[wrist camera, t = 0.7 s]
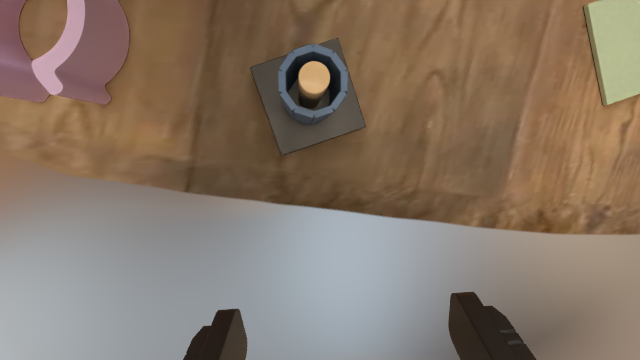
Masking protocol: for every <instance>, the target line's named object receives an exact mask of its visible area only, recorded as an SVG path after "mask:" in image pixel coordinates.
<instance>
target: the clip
mask: <svg viewBox="0 0 640 360" xmlns="http://www.w3.org/2000/svg"><path fill="white" fill-rule="evenodd" d="M25 2H26V0H0V96H2V97H9V98H15V99H22V100H28V101H35V102H44V101H45V100H46V99H47V97H48V96H49V95H50V94H52V95H57V96H62V97H67V98H72V99H77V100H83V101H88V102H93V103H98V104H103V105H105V104H108V103H109V102H110V101H111V96H110V94H109V93H108V92H107V91H106V89H105V84H106V83H107V82H109V81H110V80H111V79H112V78H113V77H114V76H115V75H116V74H117V73H118V72H119V70H120V69H121V67H122V66H123V64H124V62H125V59H126V56H127V53H128V49H129V27H128V23H127V19H126V16H125V13H124V11H123V9H122V7H121V5H120V4H119V2H118V0H67V5H68V15H67V22H66V26H65V29H64V32H63V34H62V36H61V38H60V39H59V41H58V42H57V44H56V45H55V46H54V47H53V48H52V49H51V50H50V51H48V52H47V53H46V54H44V55H43V56H41V57H39V58H37V59H35V60H33V61H32V60H31V58H30V57H29V56H28V54H27V53H26V51H25V49H24V47H23V45H22V42H21V39H20V35H19V16H20V12H21V10H22V7H23V5H24V3H25Z"/></svg>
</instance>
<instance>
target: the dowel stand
mask: <svg viewBox="0 0 640 360" xmlns="http://www.w3.org/2000/svg"><path fill="white" fill-rule="evenodd" d="M318 45H319V46H322V47H325V48H328V49H331V50H333V53H334V52H336V54H337V55H338V57H339V58H340V59H341V61H342V62H343V64H344V65H345V67H346V68H347V65H346V62H345V58H344V55H343V52H342V49H341V46H340V43H339V39H338V38H336V39H333V40H330V41H327V42H324V43H321V44H318ZM287 56H288V55H285V56H282V57H279V58H276V59H273V60H270V61H267V62H264V63H261V64H258V65H255V66H252V67H250V69H251V72H252V75H253V77H254V80H255V83H256V86H257V89H258V91H259V94H260V97H261V100H262V103H263V105H264V108H265V111H266V114H267V117H268V119H269V122H270V125H271V128H272V131H273V133H274V136H275V139H276V142H277V145H278V147H279V150H280V153H281V155H282V156H283V155H285V154H288V153H291V152H294V151H297V150H300V149H303V148H306V147H309V146H312V145H315V144H317V143H320V142H323V141H326V140H329V139H332V138H335V137H338V136H341V135H344V134H347V133H349V132H352V131H355V130H358V129H361V128H364V127H366V126H365V122H364V119H363V116H362V113H361V110H360V106H359V103H358V100H357V97H356V94H355V90H354V87H353V84H352V81H351V78H350V74H349V71H348V68H347V69H346V71H348V92H347V93H346V94H347V95H346V97H345V98H344V99H343V101H342V102H341V104H340V105H339V107H338V108H337V109H336V111H334V112H333V113H332V114H331V115H330V116H328V117H327V118H326V119H325V120H323V121H320V122H317V123H314V124H305V123H302V122H299V121H296V120H295V118H294V119H293V118H292V117H291V115H290V114H289V113H288V111H287V110H286V109H285V107H284V104H283V102H282V99H281V97H280V94H279V88H278V71H279V68H280V66H281V65H282V63H283V62H284V60H285V59H286V57H287ZM329 82H330V73H329V71H328V69H327V67H326V66H325V65H323V64H322V63H320V62H316V61H312V62H308V63H306V64H305V65H304V66H303V67H302V68H301V69H300V72H299V76H298V80H296V81H295V83H294V84H293V86H292V87H291V89H290V90H289V95H290V97H291V98H292V99H293V101H294V102H295V104H296V105H297V106H300V107H303V108H306V109H309V110H312V111H315V110H318V109H321V108H324V107H327V106H329V90H328V88H327V87H328V85H329Z"/></svg>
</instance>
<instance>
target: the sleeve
mask: <svg viewBox="0 0 640 360" xmlns="http://www.w3.org/2000/svg"><path fill="white" fill-rule="evenodd" d="M312 61H316V62H320V63H322V64H323V65H325V66H326V67H327V69H328V71H329V73H330V82H329V85H328V87H327V88H328V90H329V106H327V107H324V108H321V109H318V110H315V111H312V110H309V109H306V108H303V107H300V106H297V105H296V104H295V102H294V101H293V99H292V98H291V97H290V95H289V90H290V89H291V87H292V86H293V84H294V83H295V81H296V80H298V76H299V72H300V69H301V68H302V67H303V66H304V65H305V64H306V63H308V62H312ZM346 69H347V68H346V67H345V65H344V64H343V62H342V61H341V59H340V58H339V57H338V55H337V54H336V52H334V53H333V50H331V49H328V48H325V47H322V46H319V45H316V44H314V45H313V46H312V44H309V45H306V46H303V47H300V48H297V49H294V50H292V52H290V53H289V54H288V56H287V57H286V59H285V60H284V62H283V63H282V65H281V66H280V68H279V71H278V88H279V94H280V97H281V99H282V102H283V104H284V107H285V109H286V110H287V111H288V113H289V114H290V115H291V117H292V118H293V119H294V118H295V120H296V121H299V122H302V123H305V124H314V123H317V122H320V121H323V120H325V119H326V118H327V117H328V116H330V115H331V114H332V113H333V112H334V111H336V109H337V108H338V107H339V105H340V104H341V102H342V101H343V99H344V98H345V97H346V95H347V94H346V93H347V92H348V71H346Z"/></svg>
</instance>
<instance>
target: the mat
mask: <svg viewBox="0 0 640 360" xmlns="http://www.w3.org/2000/svg"><path fill="white" fill-rule="evenodd" d="M584 12H585V17H586V22H587V27H588V32H589V37H590V42H591V47H592V52H593V57H594V62H595V68H596V73H597V78H598V83H599V88H600V93H601V98H602V103H603V105H609V104H612V103H615V102H618V101H621V100H624V99H626V98H629V97H632V96H635V95H638V94H640V0H599V1H596V2H593V3H590V4H587V5H585V6H584Z"/></svg>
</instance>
